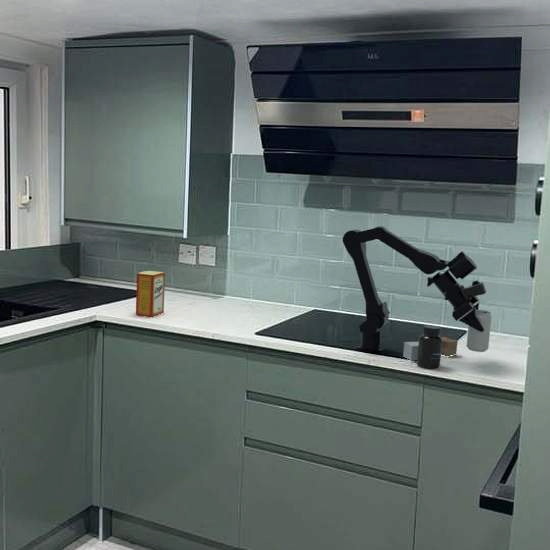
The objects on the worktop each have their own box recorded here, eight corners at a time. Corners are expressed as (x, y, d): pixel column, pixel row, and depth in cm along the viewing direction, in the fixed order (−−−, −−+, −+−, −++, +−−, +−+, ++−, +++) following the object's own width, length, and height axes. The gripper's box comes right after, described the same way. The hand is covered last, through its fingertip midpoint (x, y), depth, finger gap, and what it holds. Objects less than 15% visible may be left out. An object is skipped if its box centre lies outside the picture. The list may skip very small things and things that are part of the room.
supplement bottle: (437, 370, 210) (441, 330, 208) (414, 367, 213) (417, 327, 211) (441, 365, 217) (445, 326, 215) (418, 362, 219) (422, 323, 217)
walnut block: (433, 354, 230) (435, 339, 230) (443, 352, 234) (444, 337, 233) (447, 357, 227) (448, 342, 226) (456, 355, 230) (457, 340, 229)
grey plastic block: (403, 357, 224) (404, 342, 223) (417, 357, 225) (418, 341, 224) (410, 362, 219) (412, 346, 218) (425, 361, 220) (426, 345, 220)
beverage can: (487, 353, 215) (491, 314, 213) (465, 350, 217) (469, 311, 215) (488, 349, 221) (492, 310, 219) (466, 346, 223) (470, 308, 221)
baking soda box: (148, 311, 273) (149, 269, 271) (163, 313, 271) (165, 271, 269) (135, 315, 265) (136, 272, 262) (151, 317, 263) (153, 274, 260)
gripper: (467, 275, 208) (503, 318, 206) (475, 269, 225) (507, 308, 223) (437, 299, 212) (472, 341, 210) (447, 291, 229) (479, 329, 227)
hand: (484, 329), depth 217 cm, fingers closed on beverage can, 6 cm apart
